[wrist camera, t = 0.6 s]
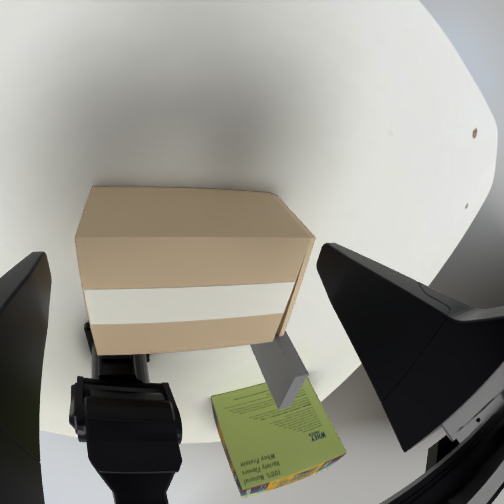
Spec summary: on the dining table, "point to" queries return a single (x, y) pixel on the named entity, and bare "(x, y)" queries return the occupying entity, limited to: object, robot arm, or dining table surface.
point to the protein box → (274, 437)
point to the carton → (185, 267)
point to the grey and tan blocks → (284, 345)
